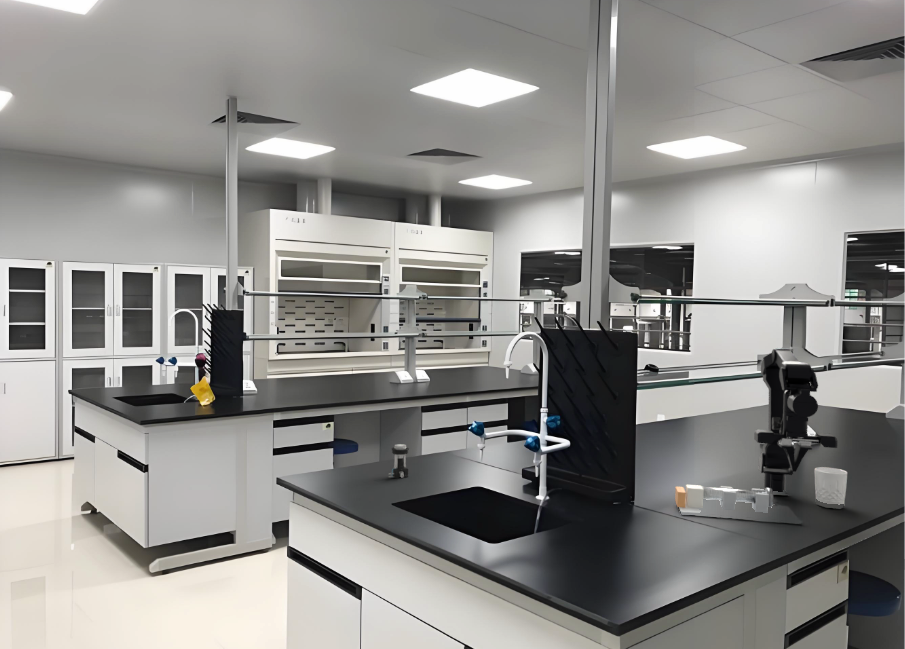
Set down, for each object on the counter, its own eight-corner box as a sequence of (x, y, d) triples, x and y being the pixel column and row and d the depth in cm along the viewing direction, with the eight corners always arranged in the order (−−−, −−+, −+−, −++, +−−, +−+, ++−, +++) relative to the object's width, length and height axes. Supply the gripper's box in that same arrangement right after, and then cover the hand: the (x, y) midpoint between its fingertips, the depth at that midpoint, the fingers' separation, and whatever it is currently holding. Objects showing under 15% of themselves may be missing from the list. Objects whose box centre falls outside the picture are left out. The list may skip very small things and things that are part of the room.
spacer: (685, 502, 183) (686, 484, 183) (701, 503, 182) (701, 485, 182) (687, 506, 179) (687, 488, 179) (703, 507, 178) (703, 489, 178)
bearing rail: (673, 500, 188) (674, 479, 188) (787, 509, 181) (788, 487, 181) (678, 515, 174) (679, 492, 174) (802, 525, 168) (802, 501, 168)
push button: (392, 480, 204) (393, 448, 204) (384, 476, 209) (384, 444, 209) (411, 477, 208) (412, 445, 208) (402, 474, 213) (403, 442, 212)
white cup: (846, 505, 187) (847, 469, 187) (846, 512, 180) (847, 475, 180) (814, 500, 191) (815, 465, 191) (813, 507, 184) (814, 471, 184)
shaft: (700, 499, 182) (701, 481, 182) (768, 504, 178) (769, 485, 178) (703, 504, 177) (703, 485, 177) (773, 509, 173) (773, 490, 173)
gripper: (826, 409, 180) (825, 467, 180) (751, 405, 184) (750, 462, 185) (838, 415, 169) (837, 477, 169) (758, 411, 174) (757, 471, 174)
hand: (793, 471), depth 175 cm, fingers closed
